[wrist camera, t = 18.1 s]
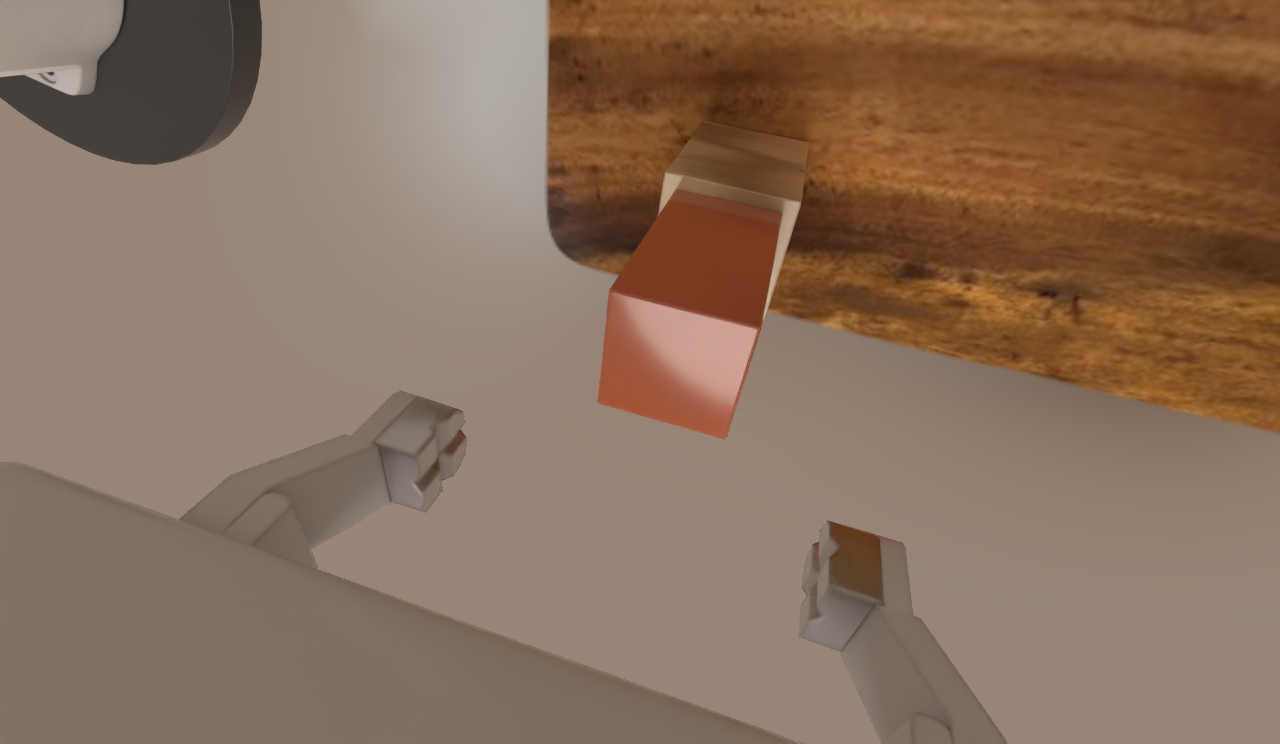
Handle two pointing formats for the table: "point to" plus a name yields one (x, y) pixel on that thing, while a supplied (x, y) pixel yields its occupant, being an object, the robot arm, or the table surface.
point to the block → (689, 313)
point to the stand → (743, 175)
